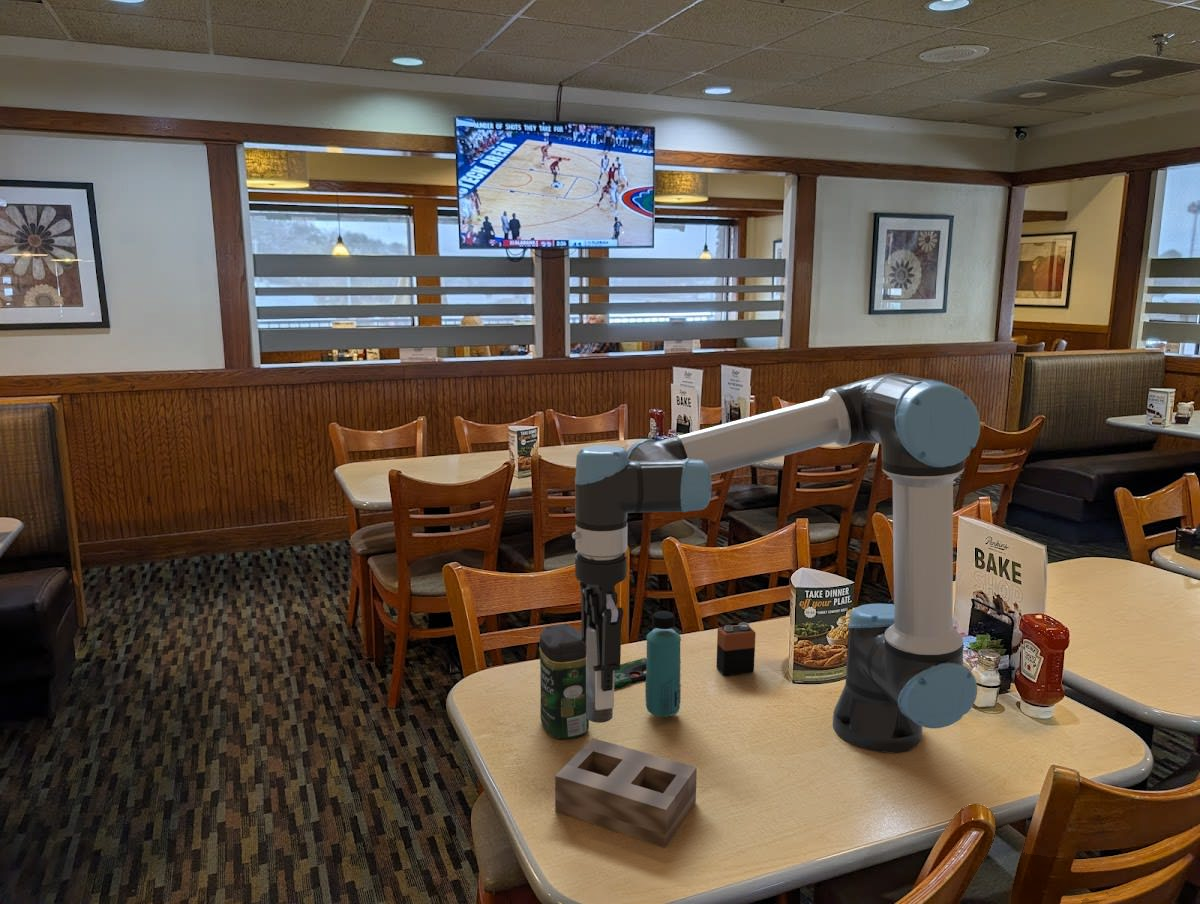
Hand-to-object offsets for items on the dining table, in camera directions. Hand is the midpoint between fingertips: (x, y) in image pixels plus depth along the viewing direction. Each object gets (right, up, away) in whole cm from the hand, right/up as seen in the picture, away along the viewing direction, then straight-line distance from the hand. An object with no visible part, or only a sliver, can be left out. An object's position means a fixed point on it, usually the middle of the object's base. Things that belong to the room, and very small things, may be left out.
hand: (599, 700), depth 127 cm
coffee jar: (-6, -12, +24) cm, 28 cm away
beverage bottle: (+12, -11, +28) cm, 33 cm away
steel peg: (0, -3, +1) cm, 3 cm away
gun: (+6, -9, +43) cm, 45 cm away
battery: (+28, -8, +47) cm, 55 cm away
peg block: (+4, -17, +1) cm, 17 cm away
